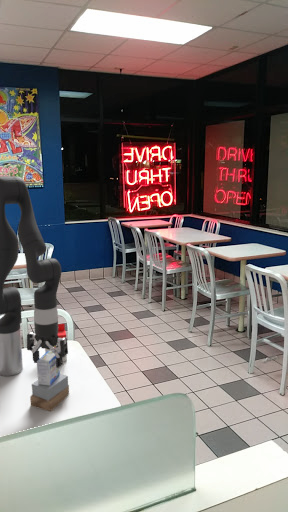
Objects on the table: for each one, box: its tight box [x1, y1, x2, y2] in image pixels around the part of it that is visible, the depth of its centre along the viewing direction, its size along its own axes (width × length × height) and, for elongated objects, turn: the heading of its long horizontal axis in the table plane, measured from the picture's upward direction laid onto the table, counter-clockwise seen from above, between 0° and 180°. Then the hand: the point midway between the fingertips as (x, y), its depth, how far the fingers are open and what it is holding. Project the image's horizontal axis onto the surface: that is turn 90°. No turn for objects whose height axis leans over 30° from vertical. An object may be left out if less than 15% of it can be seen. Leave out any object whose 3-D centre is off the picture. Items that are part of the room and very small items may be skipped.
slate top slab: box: [31, 373, 69, 401], centre depth 134 cm, size 7×10×4 cm
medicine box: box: [36, 351, 61, 386], centre depth 133 cm, size 8×4×9 cm, turn 167°
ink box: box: [44, 323, 68, 362], centre depth 162 cm, size 8×5×15 cm, turn 106°
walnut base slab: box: [29, 384, 70, 412], centre depth 135 cm, size 8×11×4 cm
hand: (47, 364), depth 133 cm, fingers open, 8 cm apart
